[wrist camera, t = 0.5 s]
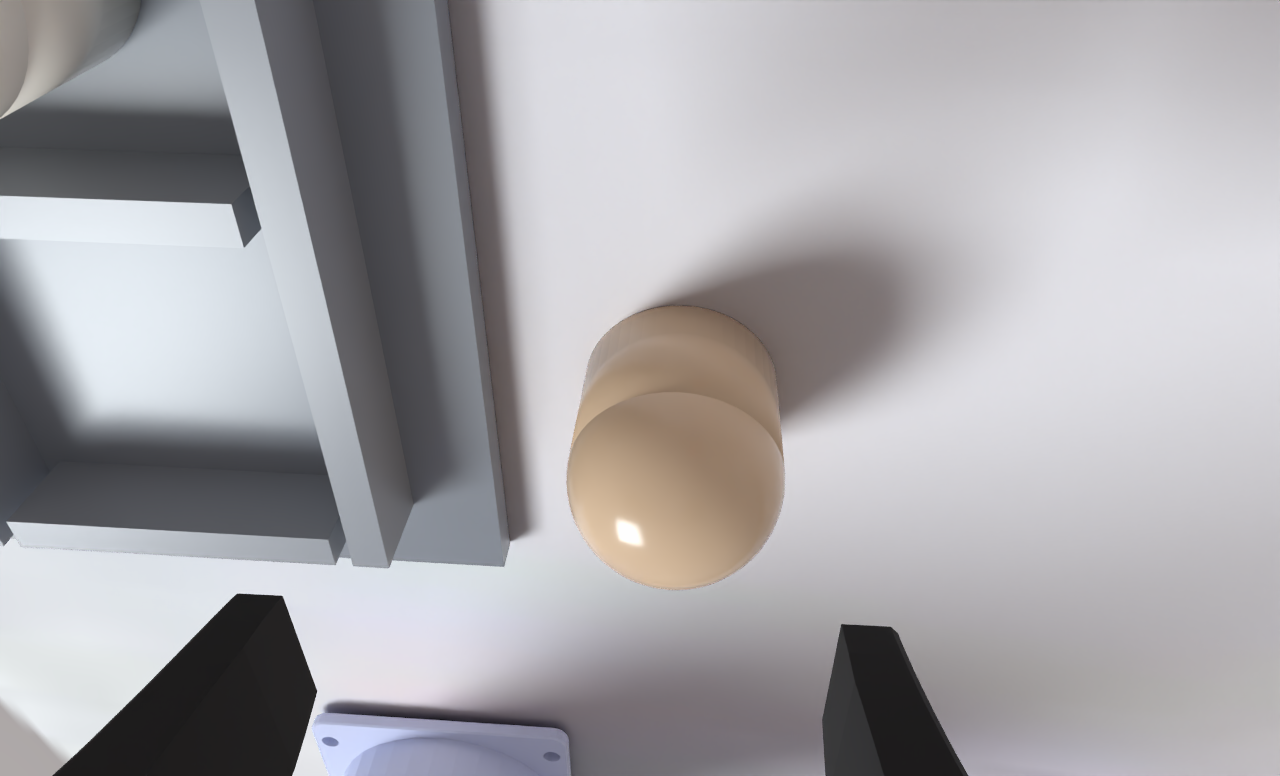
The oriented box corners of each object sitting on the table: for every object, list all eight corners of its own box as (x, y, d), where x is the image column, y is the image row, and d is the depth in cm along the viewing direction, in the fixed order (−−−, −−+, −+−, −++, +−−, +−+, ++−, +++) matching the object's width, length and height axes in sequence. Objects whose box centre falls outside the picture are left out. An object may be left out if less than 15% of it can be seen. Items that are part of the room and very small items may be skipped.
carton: (509, 543, 23) (487, 632, 21) (1, 514, 24) (-74, 597, 21) (373, -639, 11) (282, -732, 9) (-667, -625, 11) (-1003, -709, 9)
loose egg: (767, 463, 21) (779, 643, 17) (588, 454, 21) (557, 629, 17) (786, 309, 18) (805, 477, 14) (582, 300, 19) (544, 464, 14)
